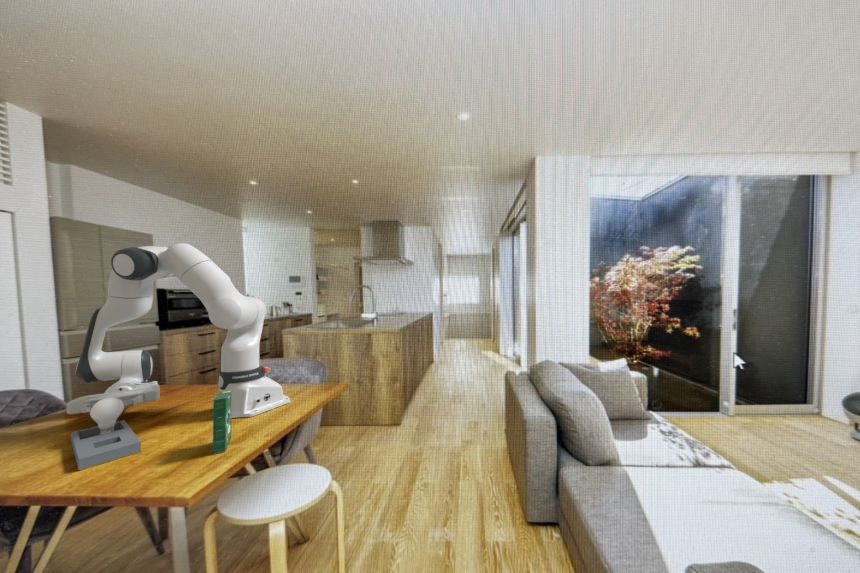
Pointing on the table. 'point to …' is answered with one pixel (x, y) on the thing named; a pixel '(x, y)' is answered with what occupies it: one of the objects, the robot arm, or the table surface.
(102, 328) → the robot arm
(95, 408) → the lightbulb
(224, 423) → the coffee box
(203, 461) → the table surface
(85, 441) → the hole board
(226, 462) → the table surface
